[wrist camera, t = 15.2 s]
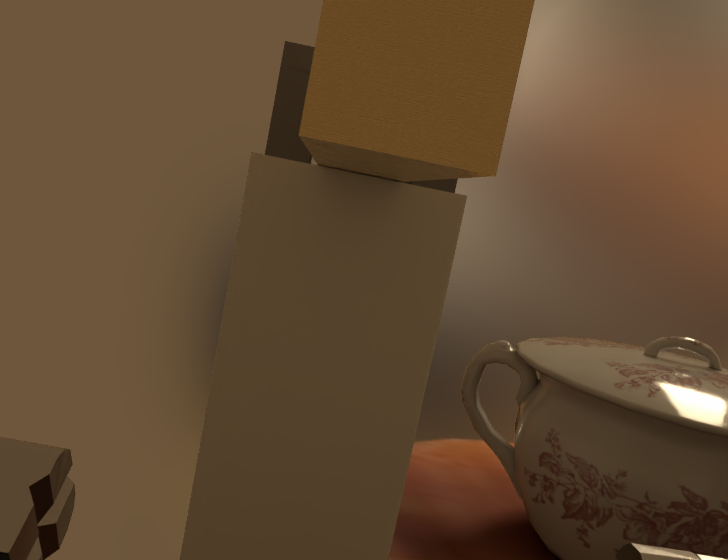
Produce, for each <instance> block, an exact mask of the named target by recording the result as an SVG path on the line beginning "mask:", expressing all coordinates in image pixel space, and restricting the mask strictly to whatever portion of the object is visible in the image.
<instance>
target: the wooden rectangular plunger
mask: <svg viewBox="0 0 728 560" xmlns="http://www.w3.org/2000/svg"><path fill="white" fill-rule="evenodd" d="M533 5H534V0H323V6H322V11H321V16H320V22H319V28H318V33H317V38H316V44H315V49H314V54H313V60H312V65H311V71H310V76H309V82H308V87H307V92H306V98H305V103H304V109H303V114H302V120H301V125H300V130H299V137H300V138H301V140H302V141H303V143H304V145H305V146H306V148H307V149H308V151H309V152H310V154H311V155H312V157H313V158H314V160H315V161H316V163H317V164H318V166H322V167H327V168H332V169H337V170H342V171H347V172H352V173H357V174H362V175H367V176H372V177H377V178H382V179H386V180H391V181H396V182H409V181H425V180H441V179H456V178H472V177H487V176H496V172H497V168H498V163H499V158H500V154H501V150H502V145H503V140H504V136H505V131H506V127H507V122H508V118H509V113H510V109H511V104H512V100H513V95H514V90H515V86H516V82H517V77H518V73H519V68H520V63H521V58H522V55H523V50H524V45H525V41H526V36H527V32H528V27H529V23H530V18H531V13H532V9H533Z"/></svg>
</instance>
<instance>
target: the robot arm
mask: <svg viewBox="0 0 728 560" xmlns="http://www.w3.org/2000/svg"><path fill="white" fill-rule="evenodd" d="M71 466H72V458H71V451H70V449H65V448H59V447H53V446H48V445H42V444H37V443H32V442H26V441H21V440H15V439H10V438H4V437H0V560H45V559H46V558H47V557H49V556H50V555H51V554H53V553H54V552H56V551H57V550H58V549H59V548H60V546H61V544H62V541H63V539H64V536H65V534H66V532H67V529H68V526H69V522H70V519H71V516H72V512H73V508H74V500H75V485H74V483H73V482H72V481H71V480H70V479H69V478H68V477H67V474H68V473H69V470H70V468H71ZM615 555H616V559H617V560H728V559H725V558H721V557H714V556H708V555H701V554H694V553H692V552H688V551H682V550H675V549H668V548H662V547H655V546H649V545H642V544H635V543H629V544H626V545H623V546H622V547H621V548H620V549H619V551H618V552H617V553H616V554H615Z"/></svg>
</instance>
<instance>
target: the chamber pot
mask: <svg viewBox="0 0 728 560" xmlns="http://www.w3.org/2000/svg"><path fill="white" fill-rule="evenodd" d="M516 348H517V350H516V349H514V348H512V346H511V344H510V343H509V342H508V341H504V340H500V341H498V342H494V343H491V344H488V345H487V346H485V347H484V348H482V349H481V350H480V351H479V352H478V353H477V354H476V355H475V356H474V357H473V358H472V360H471V361H470V362H469V363H468V364H467V367H466V370H465V374H464V376H463V379H462V383H461V401H462V403H463V405H464V407H465V409H466V412H467V414H468V416H469V419H470V421H471V423H472V425H473V428H474V429H475V431H476V432H477V433H478V434H479V435H480V437H481V438H482V439H483V440H484V441H485V442H486V443H487V445H488V446H489V447H490V448H491V449H492V450H493V452H494V453H495V454H496V455H497V456H498V458H499V460H500V461H501V463H502V465H503V466H504V468H505V470H506V471H507V473H508V475H509V477H510V479H511V481H512V483H513V485H514V487H515V489H516V491H517V493H518V495H519V497H520V498H521V499H522V500H523V503H524V506H525V509H526V512H527V515H528V518H529V521H530V523H531V525H532V527H533V528H534V530H535V531H536V533H537V535H538V536H539V537H540V539H541V540H542V541H543V543H544V544H545V545H546V547H547V548H548V550H550V551H551V552H552V553H553V554H554V555H556V556H557V557H558V558H559V559H560V560H617V559H616V555H615V554H616V553H617V552H618V551H619V549H620V548H621V547H622V546H623V545H626V544H629V543H635V544H642V545H649V546H655V547H662V548H668V549H675V550H682V551H688V552H692V553H694V554H701V555H708V556H714V557H721V558H725V559H728V369H726V368H723V367H722V366H721V363H720V360H719V357H718V356H717V354H716V353H715V352H714V350H713V349H712V348H711V347H710V346H708V345H706V344H704V343H702V342H700V341H697V340H694V339H691V338H688V337H663V338H659V339H657V340H655V341H653V342H651V343H649V344H648V346H647V348H645V347H640V346H635V345H629V344H623V343H618V342H612V341H604V340H595V339H585V338H574V337H549V338H531V339H528V340H525V341H523V342H520V343H519V344H517V345H516ZM665 349H681V350H686V351H689V352H693V353H695V354H697V355H699V356H701V357H702V358H704V359H706V360H708V363H707V362H704V361H701V360H697V359H694V358H690V357H686V356H682V355H679V354H675V353H670V352H666V351H661V350H665ZM491 363H499V364H506V365H508V366H509V367H511V368H513V369H514V370H515V371H516V372H517V373H518V374H519V375H520V381H521V382H520V386H519V390H518V393H517V396H516V402H517V404H518V406H519V409H518V413H517V417H516V421H515V441H514V447H512V446H511V445H510V444H509V443H508V442H507V441H506V440H505V439H504V438H503V437H502V436H501V435H500V434H498V432H497V431H496V430H495V429H494V428H493V427H492V426H491V424H490V422H489V420H488V418H487V416H486V414H485V412H484V410H483V408H482V407H481V405H480V403H479V383H480V380H481V377H482V373H483V371H484V369H485V367H486V365H487V364H491ZM536 370H537V371H538V372H539V377H540V379H539V380H538V377H537V373H536Z"/></svg>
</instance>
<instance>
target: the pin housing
mask: <svg viewBox="0 0 728 560" xmlns="http://www.w3.org/2000/svg"><path fill="white" fill-rule="evenodd" d="M314 49H315V47H310V46H306V45H301V44H297V43H292V42H287V41H285V45H284V51H283V57H282V62H281V67H280V73H279V79H278V84H277V90H276V95H275V101H274V106H273V112H272V118H271V123H270V129H269V134H268V140H267V146H266V151H265V155H263V154H258V153H253V152H252V153H251V159H250V164H249V170H248V176H247V182H246V187H245V193H244V198H243V204H242V210H241V215H240V221H239V227H238V232H237V238H236V244H235V249H234V255H233V261H232V266H231V272H230V278H229V284H228V289H227V295H226V300H225V306H224V312H223V318H222V323H221V329H220V334H219V340H218V346H217V351H216V357H215V363H214V369H213V374H212V380H211V385H210V391H209V397H208V402H207V408H206V414H205V420H204V426H203V431H202V437H201V442H200V448H199V453H198V459H197V465H196V471H195V476H194V482H193V487H192V493H191V499H190V504H189V510H188V516H187V521H186V527H185V533H184V538H183V544H182V550H181V555H180V560H388V559H389V555H390V550H391V545H392V541H393V536H394V531H395V527H396V522H397V518H398V513H399V508H400V504H401V499H402V494H403V490H404V485H405V481H406V476H407V471H408V467H409V462H410V458H411V453H412V448H413V444H414V439H415V434H416V430H417V425H418V421H419V416H420V410H421V407H422V402H423V397H424V393H425V388H426V384H427V379H428V374H429V369H430V365H431V360H432V356H433V351H434V347H435V342H436V337H437V332H438V328H439V323H440V319H441V314H442V310H443V305H444V300H445V296H446V291H447V287H448V282H449V277H450V272H451V268H452V263H453V259H454V254H455V249H456V245H457V240H458V235H459V231H460V226H461V222H462V217H463V213H464V208H465V203H466V199H467V196H465V195H460V194H455V188H456V184H457V179H458V178H456V179H441V180H425V181H409V182H396V181H391V180H386V179H382V178H377V177H372V176H367V175H362V174H357V173H352V172H347V171H342V170H337V169H332V168H327V167H322V166H317V165H313V161H314V158H313V157H312V155H311V154H310V152H309V151H308V149H307V148H306V146H305V145H304V143H303V141H302V140H301V138H300V137H299V130H300V125H301V120H302V114H303V109H304V103H305V98H306V92H307V87H308V82H309V76H310V71H311V65H312V60H313V54H314Z"/></svg>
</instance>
